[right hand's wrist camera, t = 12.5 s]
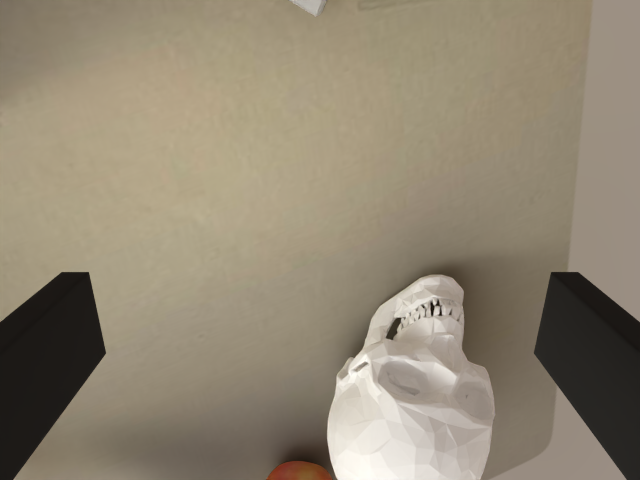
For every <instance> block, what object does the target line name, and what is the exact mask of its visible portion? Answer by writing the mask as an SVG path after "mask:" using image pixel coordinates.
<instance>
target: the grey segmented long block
mask: <svg viewBox="0 0 640 480" xmlns="http://www.w3.org/2000/svg"><path fill="white" fill-rule="evenodd" d="M289 1H291V2H292V3H294V4H296V5H297V6H299V7H301V8H302V9H304V10H306V11H307V12H309V13H311V14H312V15H314V16H318V15H320V14H321V13H322V12H323V9H324V7H325V4H326V1H327V0H289Z"/></svg>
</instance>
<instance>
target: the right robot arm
mask: <svg viewBox="0 0 640 480" xmlns="http://www.w3.org/2000/svg"><path fill="white" fill-rule="evenodd" d="M105 354H106V351H105V346H104V341H103V337H102V332H101V327H100V322H99V318H98V313H97V308H96V304H95V299H94V294H93V289H92V285H91V280H90V275H89V272H61V273H60V274H59V275H58V276H57V277H55V278H54V279H53V280H52V281H50V282H49V283H48V284H47V285H45V286H44V287H43V288H42V289H41V290H39V291H38V292H37V293H36V294H34V295H33V296H32V297H31V298H29V299H28V300H27V301H26V302H25V303H23V304H22V305H21V306H20V307H18V308H17V309H16V310H15V311H13V312H12V313H11V314H10V315H9V316H7V317H6V318H5V319H4V320H2V321H1V322H0V480H13V479H14V478H15V476H16V475H17V474H18V472H19V471H20V470H21V468H22V467H23V466H24V464H25V463H26V461H27V460H28V459H29V457H30V456H31V455H32V453H33V452H34V451H35V449H36V448H37V447H38V445H39V444H40V442H41V441H42V440H43V438H44V437H45V436H46V434H47V433H48V432H49V430H50V429H51V427H52V426H53V425H54V423H55V422H56V421H57V419H58V418H59V417H60V415H61V414H62V413H63V411H64V410H65V408H66V407H67V406H68V404H69V403H70V402H71V400H72V399H73V398H74V396H75V395H76V393H77V392H78V391H79V389H80V388H81V387H82V385H83V384H84V383H85V381H86V380H87V379H88V377H89V376H90V374H91V373H92V372H93V370H94V369H95V368H96V366H97V365H98V364H99V362H100V361H101V359H102V358H103V357H104V355H105ZM534 354H535V355H536V357H537V358H538V359H539V361H540V362H541V364H542V365H543V366H544V368H545V369H546V370H547V372H548V373H549V374H550V376H551V377H552V379H553V380H554V381H555V383H556V384H557V385H558V387H559V388H560V389H561V391H562V392H563V393H564V395H565V396H566V398H567V399H568V400H569V401H570V403H571V404H572V406H573V407H574V408H575V410H576V411H577V413H578V414H579V415H580V417H581V418H582V419H583V421H584V422H585V423H586V425H587V426H588V427H589V429H590V430H591V432H592V433H593V434H594V436H595V437H596V438H597V440H598V441H599V442H600V444H601V445H602V447H603V448H604V449H605V451H606V452H607V453H608V455H609V456H610V457H611V459H612V460H613V461H614V463H615V464H616V466H617V467H618V468H619V470H620V471H621V472H622V474H623V475H624V476H625V478H626V479H627V480H640V322H639V321H638V320H636V319H635V318H634V317H633V316H631V315H630V314H629V313H628V312H627V311H625V310H624V309H623V308H622V307H620V306H619V305H618V304H617V303H615V302H614V301H613V300H612V299H611V298H609V297H608V296H607V295H606V294H604V293H603V292H602V291H601V290H599V289H598V288H597V287H596V286H595V285H593V284H592V283H591V282H590V281H588V280H587V279H586V278H585V277H583V276H582V275H581V274H580V273H578V272H551V275H550V280H549V285H548V289H547V294H546V299H545V304H544V308H543V313H542V318H541V322H540V327H539V332H538V337H537V341H536V346H535V351H534Z"/></svg>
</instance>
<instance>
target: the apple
mask: <svg viewBox="0 0 640 480" xmlns="http://www.w3.org/2000/svg"><path fill="white" fill-rule="evenodd" d="M266 480H333V479H332V477H331V476H330V474H329V473H328V471H327V470H326V469H325V468H323V467H322V466H320V465H317V464H314V463H310V462H305V461H290V462H286V463H283V464H281V465H279V466H277V467H276V468H275V469H274V470H273V471H272V472H271V473H270V475H269V476H268V478H267V479H266Z"/></svg>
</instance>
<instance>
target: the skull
mask: <svg viewBox="0 0 640 480" xmlns="http://www.w3.org/2000/svg"><path fill="white" fill-rule="evenodd" d="M463 296H464V291H463V289H462V288H461V287H460V286H459V284H458V283H457V282H456V281H455V280H454V279H453V278H451V277H448V276H445V275H428V276H425V277H422V278H419V279H418V280H417V281H415V282H414V283H412V284H411V285H410V286H408V287H407V288H405V289H404V290H403V291H401V292H400V293H398V294H397V295H395V296H394V297H392V298H391V299H389V300H388V301H387V302H385V303H384V304H382V305H381V306H380V307H379V308H378V310H377V311H376V313H375V314H374V316H373V317H372V319H371V323H370V327H369V330H368V334H367V337H366V339H365V344H364V347H363V349H362V351H361V352H360V353H359V354H358V355H357V356H356V357H355V358H354V357H350V358H349V359H348V360H347V362H346V364H345V365H344V367H343V368H342V369H341V370H340V371H339V372H338V373H337V385H336V391H335V397H334V399H333V402H332V405H331V408H330V413H329V417H328V429H327V440H328V447H329V453H330V459H331V463H332V466H333V469H334V472H335V475H336V477H337V479H338V480H480V479H481V476H482V473H483V471H484V467H485V464H486V461H487V458H488V454H489V451H490V443H491V433H492V423H493V420H494V417H495V406H494V396H493V391H492V386H491V382H490V378H489V374H488V372H487V371H486V369H485V368H484V367H483V366H479V365H476V364H474V363H472V362H469V361H468V360H467V358H466V356H465V354H464V353H463V351H462V341H463V334H464V314H463V313H464V311H463V306H462V302H463ZM437 301H439V302H440V306H441V305H442V306H441V310H442V316H438V315H439V313H440V306H435V305H436V304H437ZM431 302H433V305H434V306H435V309H434V315H433V316H431V310H430V308H431V306H430V303H431ZM422 306H425V308H426V309H427V311H426V317H425V308H424V309H423V307H422ZM450 312H451V315H449V313H450ZM419 316H420V319H419ZM405 317H406V319H405ZM396 318H402V319H401V323H400V325H399V327H398V329H397V332H398V333H397V334H396V335H395V336H394V338H393V340H390V339H386V336H387V334H388V332H389V330H390V327H391V325H392V323H393V322H394V320H395V319H396Z"/></svg>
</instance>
